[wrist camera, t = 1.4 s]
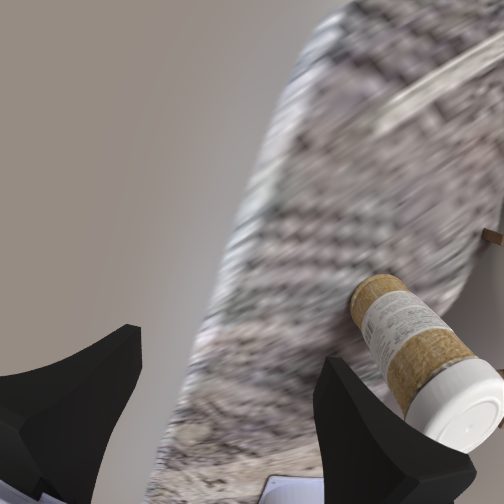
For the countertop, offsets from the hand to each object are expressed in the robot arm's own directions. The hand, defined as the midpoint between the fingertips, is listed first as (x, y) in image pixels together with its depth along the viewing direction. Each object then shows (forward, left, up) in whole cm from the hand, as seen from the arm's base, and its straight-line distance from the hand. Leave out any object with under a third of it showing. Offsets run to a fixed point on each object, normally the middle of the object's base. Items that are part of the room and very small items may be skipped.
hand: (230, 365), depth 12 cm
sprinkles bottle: (0, -10, -11) cm, 14 cm away
